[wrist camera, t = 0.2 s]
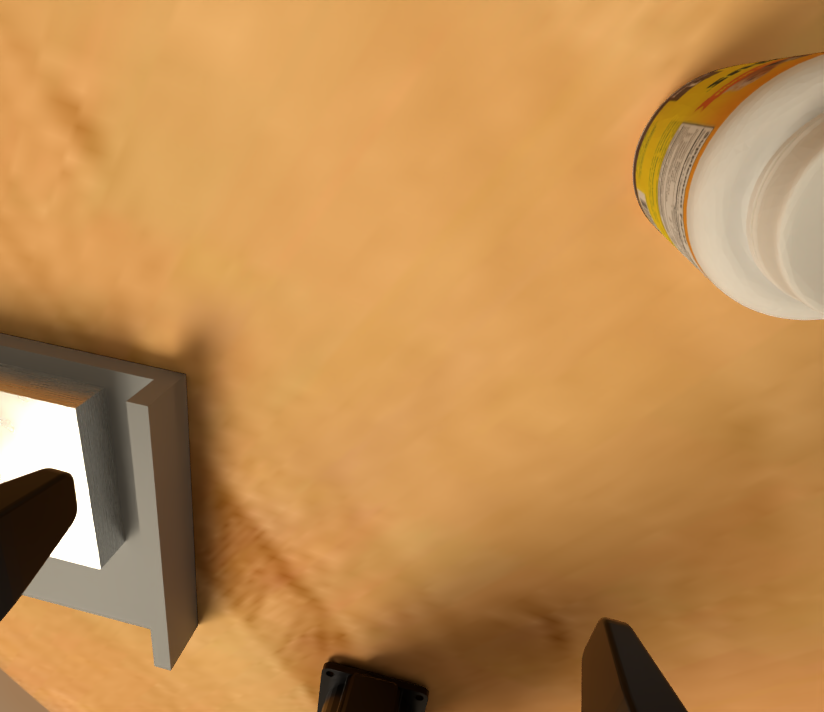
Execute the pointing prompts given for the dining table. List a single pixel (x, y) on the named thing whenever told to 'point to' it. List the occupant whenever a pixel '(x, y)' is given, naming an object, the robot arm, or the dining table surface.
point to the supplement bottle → (744, 181)
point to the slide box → (132, 499)
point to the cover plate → (64, 453)
